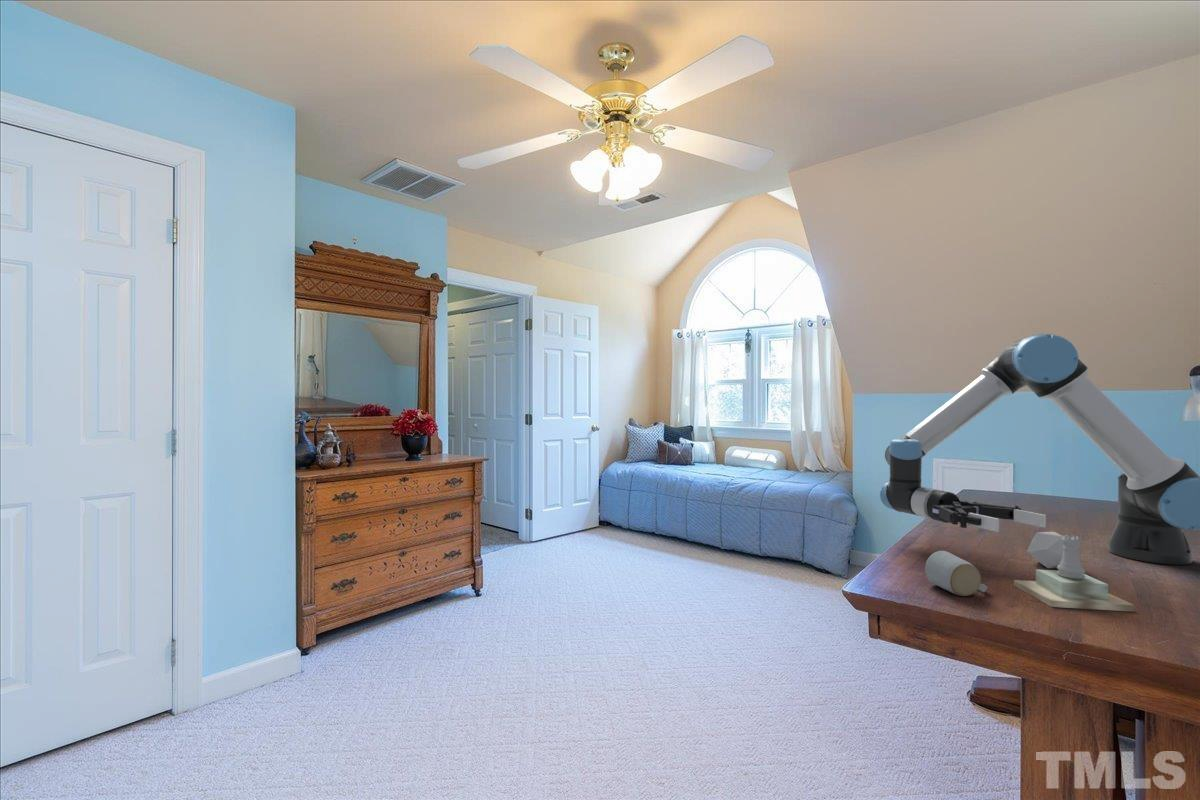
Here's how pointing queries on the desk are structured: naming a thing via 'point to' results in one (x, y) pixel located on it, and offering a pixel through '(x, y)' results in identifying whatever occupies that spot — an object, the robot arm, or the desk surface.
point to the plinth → (1070, 601)
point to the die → (1047, 548)
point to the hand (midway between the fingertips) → (1021, 523)
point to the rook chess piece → (1071, 559)
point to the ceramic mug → (953, 574)
